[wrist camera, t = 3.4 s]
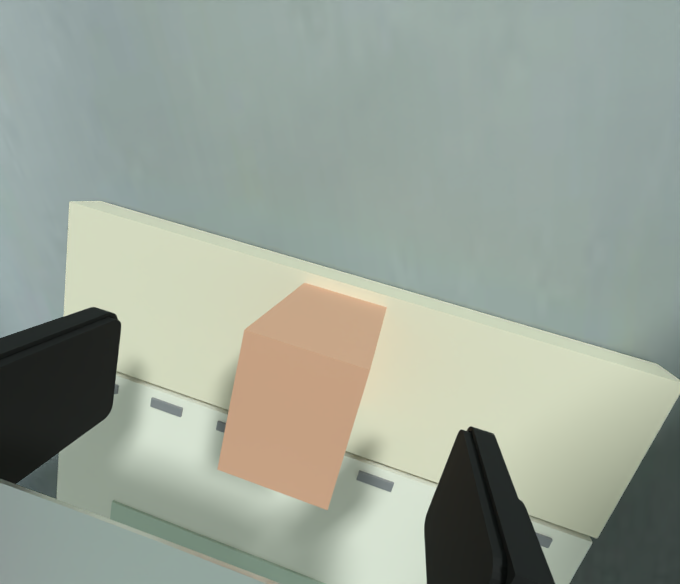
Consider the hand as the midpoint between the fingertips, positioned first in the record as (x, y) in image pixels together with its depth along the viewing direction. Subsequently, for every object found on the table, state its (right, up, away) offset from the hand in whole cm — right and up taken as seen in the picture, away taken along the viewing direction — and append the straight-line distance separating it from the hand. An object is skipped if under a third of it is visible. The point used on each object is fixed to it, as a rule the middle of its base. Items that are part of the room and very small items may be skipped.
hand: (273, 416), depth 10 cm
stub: (+2, +1, +6) cm, 6 cm away
